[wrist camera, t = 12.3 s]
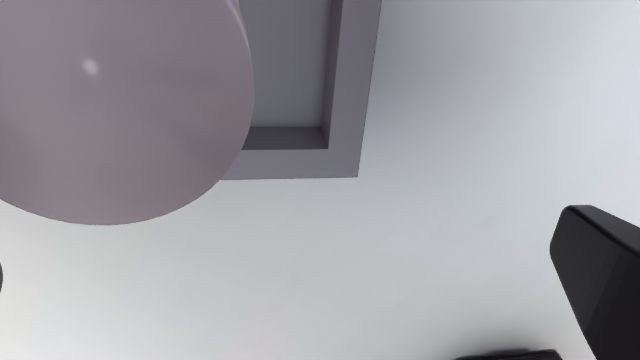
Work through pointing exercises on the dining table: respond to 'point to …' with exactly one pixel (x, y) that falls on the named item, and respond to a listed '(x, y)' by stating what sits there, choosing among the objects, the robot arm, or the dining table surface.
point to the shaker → (120, 105)
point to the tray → (307, 87)
